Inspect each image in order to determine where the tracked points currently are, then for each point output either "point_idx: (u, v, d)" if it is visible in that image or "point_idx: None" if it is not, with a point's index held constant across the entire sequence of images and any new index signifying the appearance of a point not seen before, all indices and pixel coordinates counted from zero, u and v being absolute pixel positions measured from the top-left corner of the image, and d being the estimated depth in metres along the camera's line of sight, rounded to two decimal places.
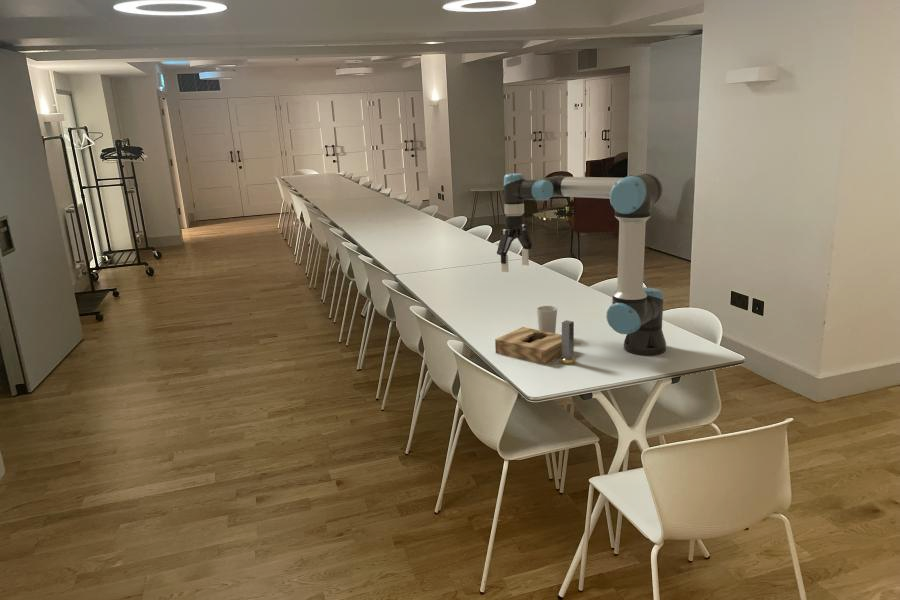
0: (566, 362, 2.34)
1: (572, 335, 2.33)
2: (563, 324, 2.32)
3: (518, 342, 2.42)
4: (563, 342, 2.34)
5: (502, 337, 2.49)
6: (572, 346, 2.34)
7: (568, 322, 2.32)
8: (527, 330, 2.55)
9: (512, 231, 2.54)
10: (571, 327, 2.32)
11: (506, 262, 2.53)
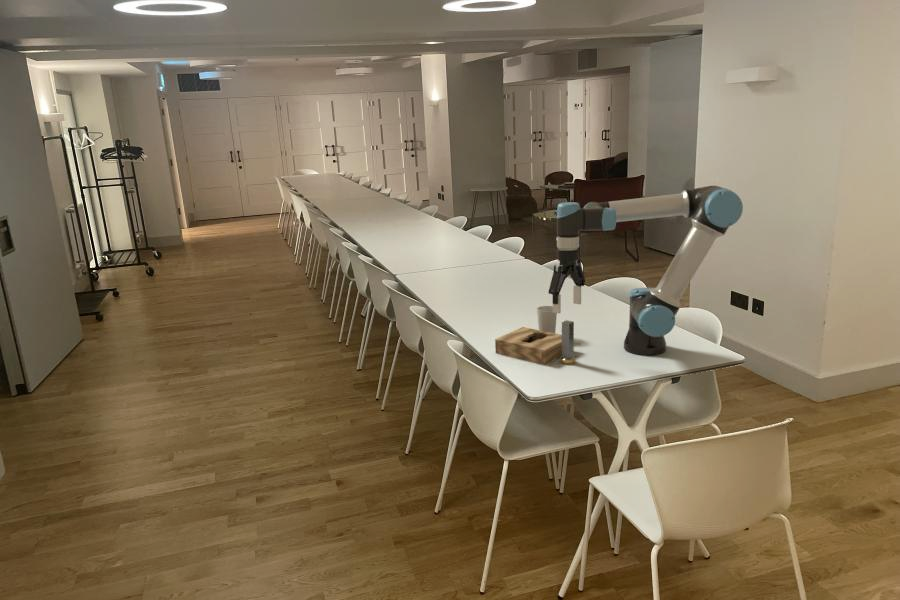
0: (566, 362, 2.34)
1: (572, 335, 2.33)
2: (563, 324, 2.32)
3: (518, 342, 2.42)
4: (563, 342, 2.34)
5: (502, 337, 2.49)
6: (572, 346, 2.34)
7: (568, 322, 2.32)
8: (527, 330, 2.55)
9: (565, 267, 2.24)
10: (571, 327, 2.32)
11: (558, 302, 2.24)
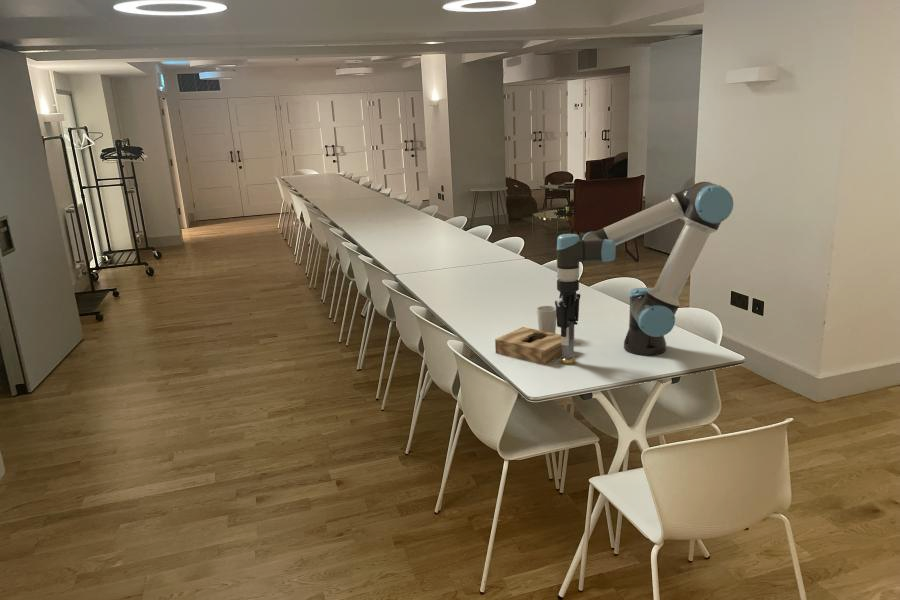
0: (566, 362, 2.34)
1: (572, 335, 2.33)
2: None
3: (518, 342, 2.42)
4: None
5: (502, 337, 2.49)
6: (572, 346, 2.34)
7: (568, 322, 2.32)
8: (527, 330, 2.55)
9: (566, 298, 2.27)
10: (571, 327, 2.32)
11: (567, 335, 2.31)
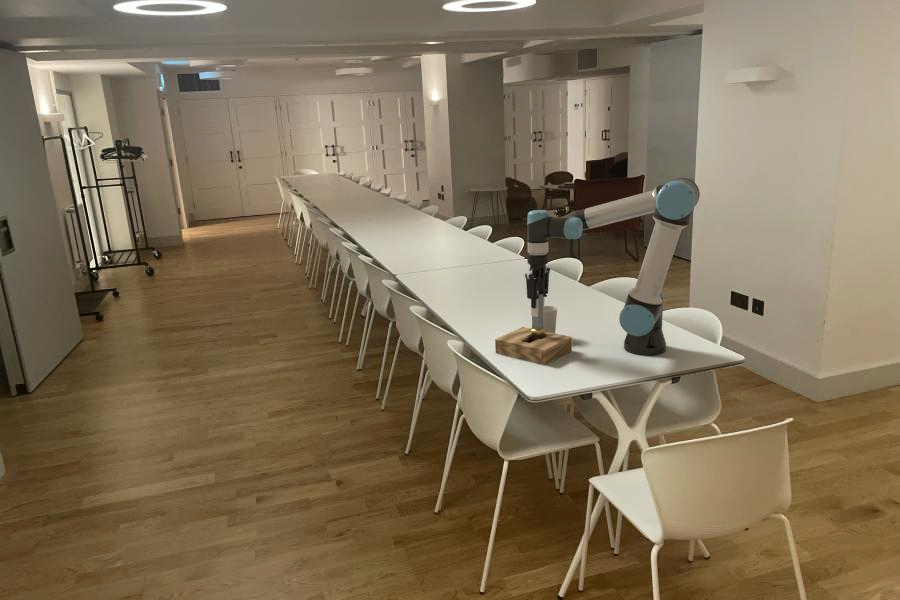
0: (536, 332, 2.46)
1: (541, 307, 2.45)
2: None
3: (518, 342, 2.42)
4: None
5: (502, 337, 2.49)
6: (542, 317, 2.47)
7: (538, 294, 2.44)
8: (527, 330, 2.55)
9: (536, 270, 2.40)
10: (541, 299, 2.44)
11: (536, 306, 2.44)
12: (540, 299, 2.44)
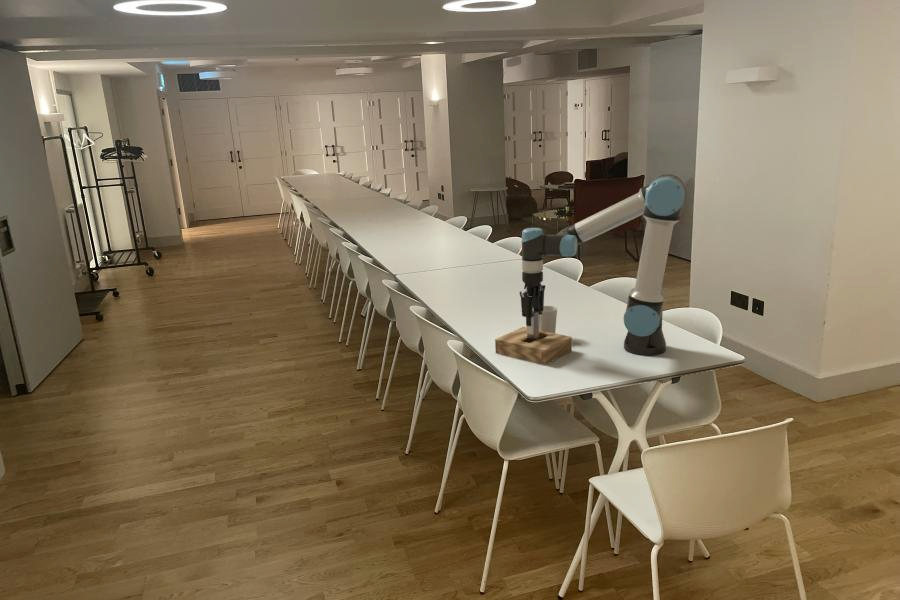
0: None
1: (536, 324, 2.45)
2: None
3: (518, 342, 2.42)
4: None
5: (502, 337, 2.49)
6: (537, 335, 2.46)
7: (533, 312, 2.43)
8: None
9: (530, 288, 2.39)
10: (536, 317, 2.43)
11: (531, 324, 2.43)
12: (535, 317, 2.43)
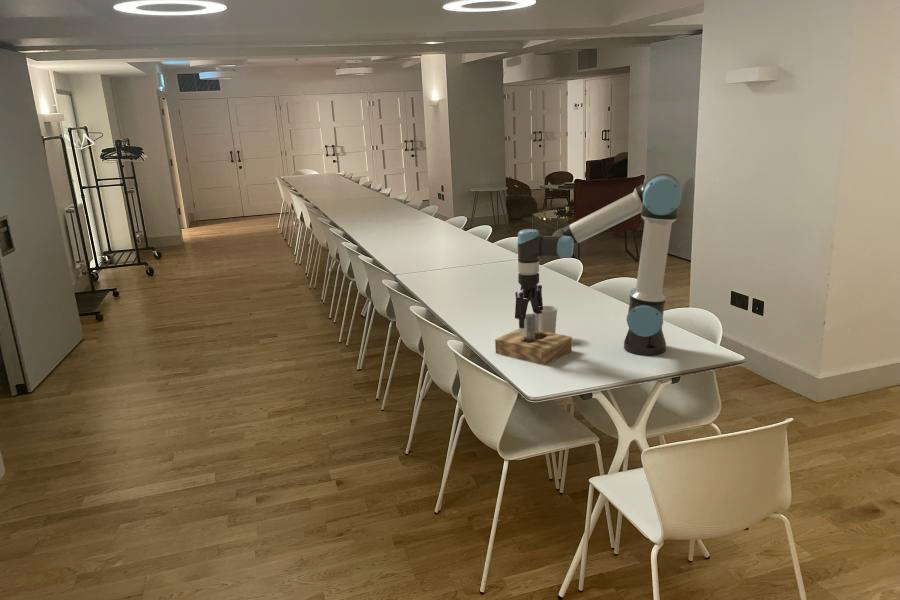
0: None
1: (533, 328, 2.43)
2: (525, 317, 2.42)
3: (518, 342, 2.42)
4: None
5: (502, 337, 2.49)
6: (534, 338, 2.44)
7: (529, 315, 2.42)
8: None
9: (526, 291, 2.37)
10: (532, 320, 2.42)
11: (524, 326, 2.39)
12: (532, 320, 2.41)
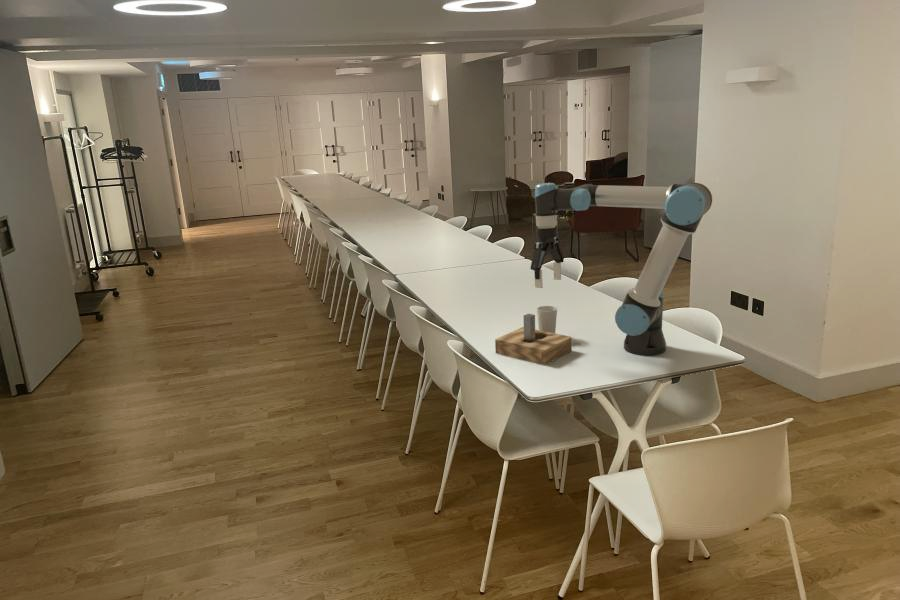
0: None
1: (533, 328, 2.43)
2: (525, 317, 2.42)
3: (518, 342, 2.42)
4: (525, 334, 2.44)
5: (502, 337, 2.49)
6: (534, 338, 2.44)
7: (529, 315, 2.42)
8: None
9: (545, 244, 2.38)
10: (532, 320, 2.42)
11: (540, 277, 2.38)
12: (532, 320, 2.41)
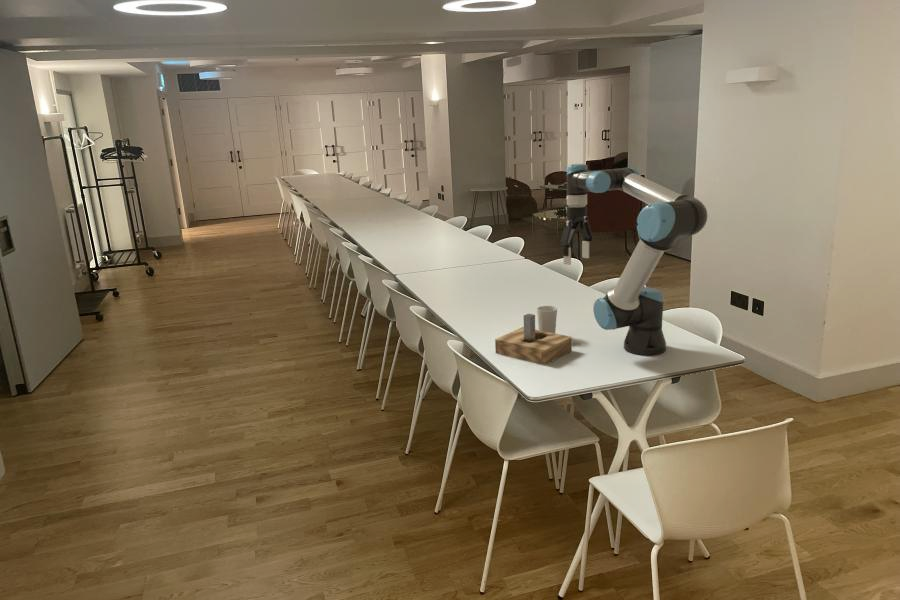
0: None
1: (533, 328, 2.43)
2: (525, 317, 2.42)
3: (518, 342, 2.42)
4: (525, 334, 2.44)
5: (502, 337, 2.49)
6: (534, 338, 2.44)
7: (529, 315, 2.42)
8: None
9: (575, 223, 2.48)
10: (532, 320, 2.42)
11: (569, 254, 2.48)
12: (532, 320, 2.41)
